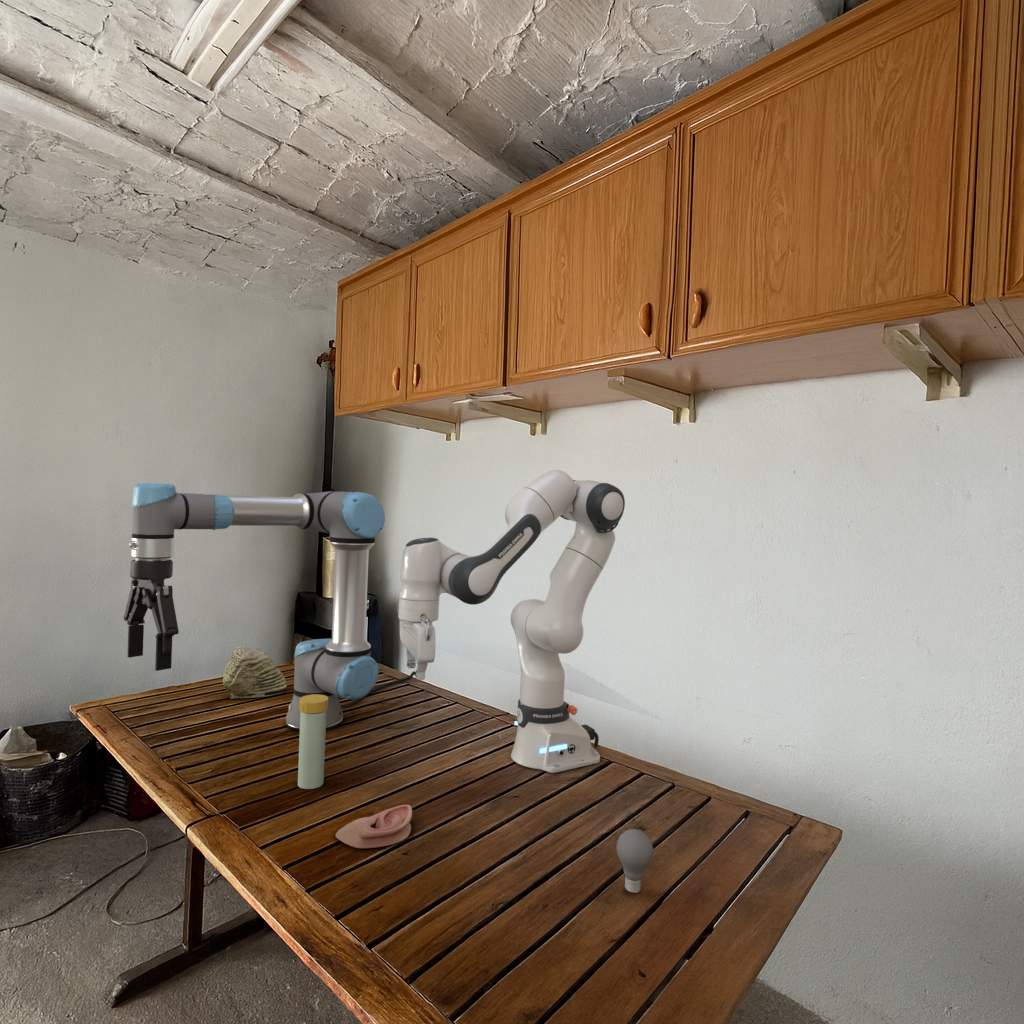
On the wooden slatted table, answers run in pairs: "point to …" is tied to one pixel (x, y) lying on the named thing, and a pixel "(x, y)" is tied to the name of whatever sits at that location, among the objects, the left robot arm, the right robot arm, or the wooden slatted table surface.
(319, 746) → the pale green bottle
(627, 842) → the light bulb
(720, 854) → the wooden slatted table surface
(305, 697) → the lid
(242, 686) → the fossil
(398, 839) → the anatomical model
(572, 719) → the right robot arm
